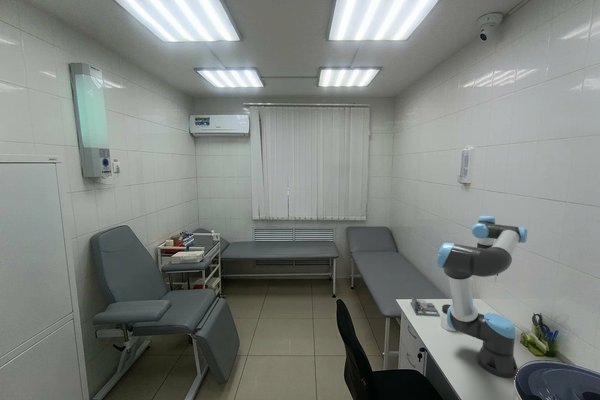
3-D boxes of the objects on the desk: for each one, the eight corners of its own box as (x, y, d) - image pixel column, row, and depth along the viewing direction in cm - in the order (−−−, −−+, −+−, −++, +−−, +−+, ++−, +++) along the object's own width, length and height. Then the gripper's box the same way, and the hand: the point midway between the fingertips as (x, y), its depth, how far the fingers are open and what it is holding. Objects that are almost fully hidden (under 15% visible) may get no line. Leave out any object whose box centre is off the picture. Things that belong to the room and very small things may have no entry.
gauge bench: (439, 316, 166) (440, 305, 165) (416, 315, 169) (416, 304, 168) (432, 304, 180) (432, 294, 179) (410, 303, 182) (410, 293, 181)
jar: (454, 333, 149) (455, 313, 148) (439, 327, 155) (439, 308, 154) (459, 326, 156) (460, 307, 154) (444, 321, 161) (445, 302, 160)
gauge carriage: (428, 311, 168) (428, 306, 168) (421, 311, 169) (421, 305, 168) (424, 305, 176) (424, 299, 176) (417, 304, 177) (418, 299, 177)
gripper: (504, 241, 151) (501, 278, 154) (459, 241, 155) (458, 277, 157) (512, 245, 144) (509, 284, 147) (465, 244, 147) (463, 282, 150)
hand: (483, 280), depth 152 cm, fingers open, 11 cm apart
